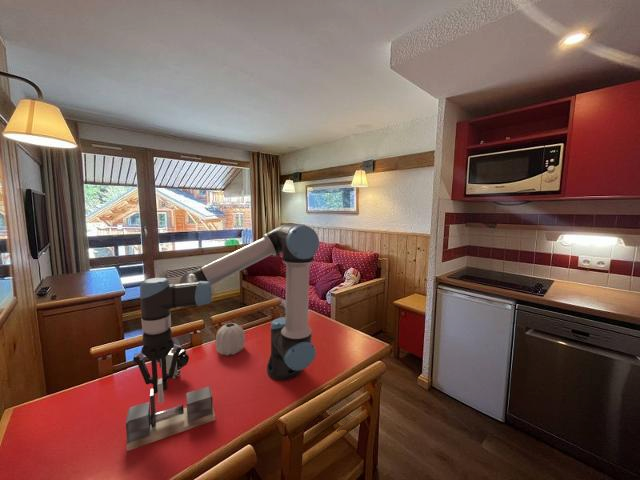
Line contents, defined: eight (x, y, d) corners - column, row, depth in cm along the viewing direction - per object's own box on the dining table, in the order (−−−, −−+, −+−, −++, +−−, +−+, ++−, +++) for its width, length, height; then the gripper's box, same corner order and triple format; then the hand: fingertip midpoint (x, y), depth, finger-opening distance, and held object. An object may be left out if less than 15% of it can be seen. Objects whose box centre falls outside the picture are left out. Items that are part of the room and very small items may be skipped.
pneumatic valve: (182, 381, 107) (180, 353, 106) (157, 377, 109) (155, 350, 108) (191, 373, 112) (190, 346, 111) (167, 369, 115) (166, 343, 113)
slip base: (211, 402, 96) (210, 381, 95) (215, 419, 88) (214, 397, 87) (130, 428, 84) (128, 404, 83) (126, 451, 76) (124, 425, 75)
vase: (249, 353, 129) (248, 326, 128) (219, 362, 121) (218, 334, 120) (240, 341, 140) (239, 317, 139) (212, 348, 133) (211, 323, 131)
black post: (183, 410, 90) (181, 379, 88) (184, 420, 85) (182, 388, 84) (132, 427, 83) (130, 393, 81) (131, 438, 78) (128, 403, 77)
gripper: (180, 320, 87) (183, 386, 90) (132, 328, 81) (137, 399, 84) (181, 329, 81) (184, 400, 84) (129, 339, 74) (135, 416, 77)
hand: (161, 400), depth 84 cm, fingers closed
